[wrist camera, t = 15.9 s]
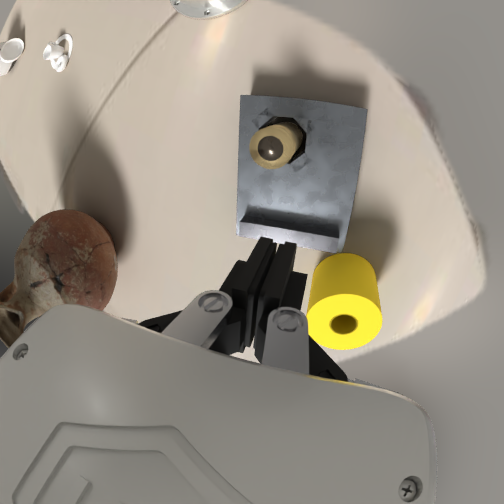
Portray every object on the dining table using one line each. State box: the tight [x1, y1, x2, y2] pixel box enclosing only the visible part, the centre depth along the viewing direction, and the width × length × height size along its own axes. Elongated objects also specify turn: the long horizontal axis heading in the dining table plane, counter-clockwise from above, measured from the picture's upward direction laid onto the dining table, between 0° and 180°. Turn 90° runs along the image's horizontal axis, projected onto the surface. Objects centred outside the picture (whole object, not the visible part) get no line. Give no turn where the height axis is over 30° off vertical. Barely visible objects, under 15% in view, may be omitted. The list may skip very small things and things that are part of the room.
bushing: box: [249, 122, 303, 169], centre depth 28 cm, size 4×4×10 cm
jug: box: [0, 210, 118, 348], centre depth 39 cm, size 22×22×30 cm
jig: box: [236, 95, 367, 253], centre depth 31 cm, size 18×14×6 cm
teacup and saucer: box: [43, 34, 73, 72], centre depth 29 cm, size 9×8×4 cm
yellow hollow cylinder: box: [306, 253, 382, 350], centre depth 36 cm, size 10×10×9 cm
